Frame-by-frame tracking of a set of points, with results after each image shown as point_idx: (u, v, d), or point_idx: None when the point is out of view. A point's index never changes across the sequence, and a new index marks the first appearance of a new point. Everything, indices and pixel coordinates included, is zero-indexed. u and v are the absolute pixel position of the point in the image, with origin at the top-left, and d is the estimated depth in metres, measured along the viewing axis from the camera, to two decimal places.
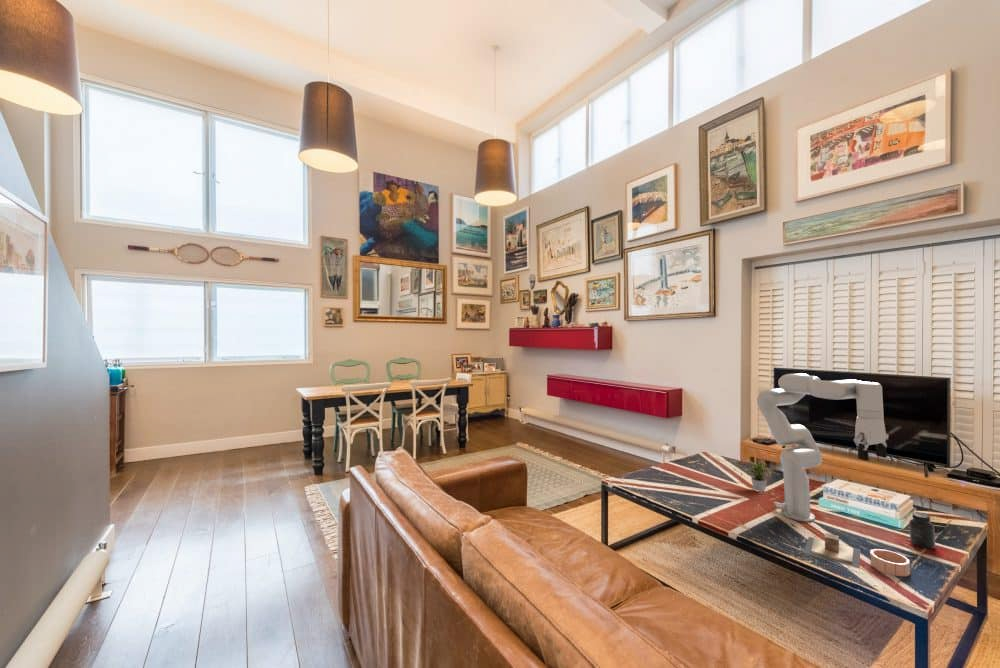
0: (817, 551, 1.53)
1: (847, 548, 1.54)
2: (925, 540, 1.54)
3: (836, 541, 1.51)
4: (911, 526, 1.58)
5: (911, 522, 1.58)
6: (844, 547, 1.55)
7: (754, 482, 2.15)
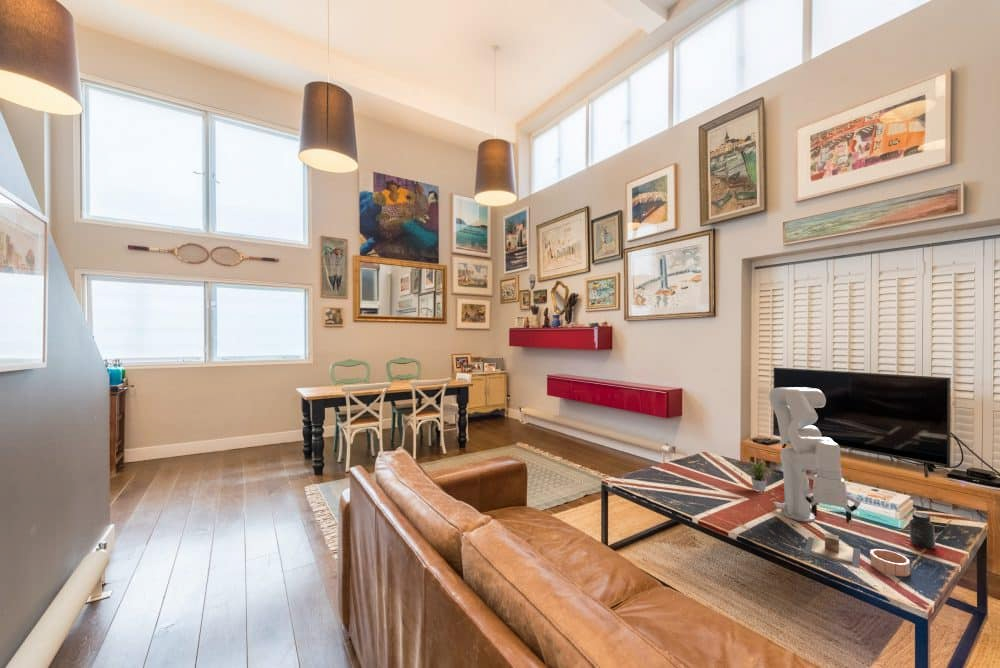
0: (817, 551, 1.53)
1: (847, 548, 1.54)
2: (925, 540, 1.54)
3: (836, 541, 1.51)
4: (911, 526, 1.58)
5: (911, 522, 1.58)
6: (844, 547, 1.55)
7: (754, 482, 2.15)
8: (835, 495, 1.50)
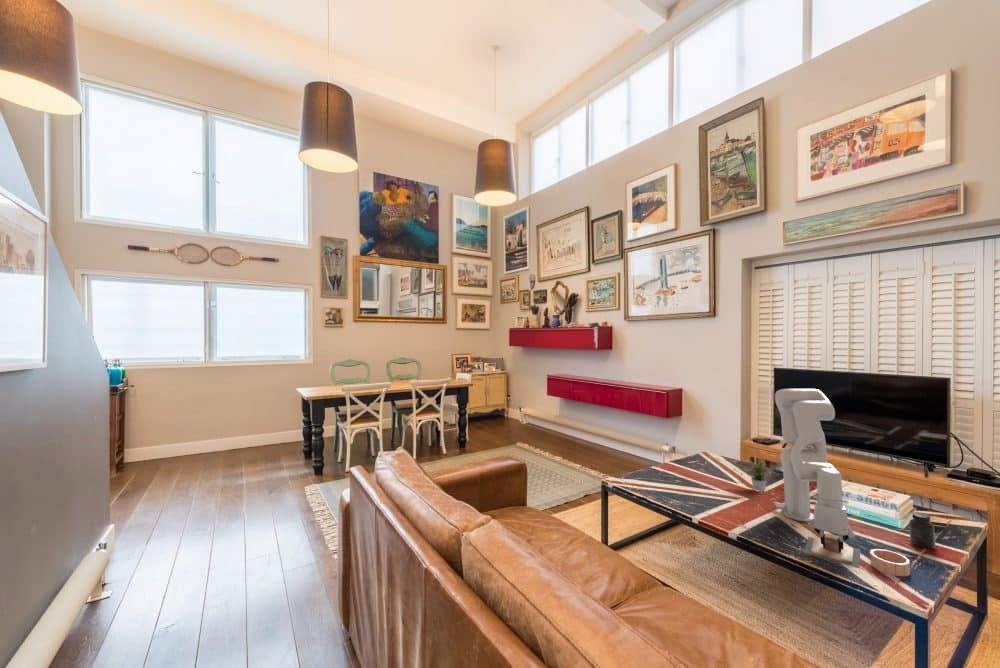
0: (817, 551, 1.53)
1: (847, 548, 1.54)
2: (925, 540, 1.54)
3: (836, 541, 1.51)
4: (911, 526, 1.58)
5: (911, 522, 1.58)
6: (844, 547, 1.55)
7: (754, 482, 2.15)
8: (836, 523, 1.51)
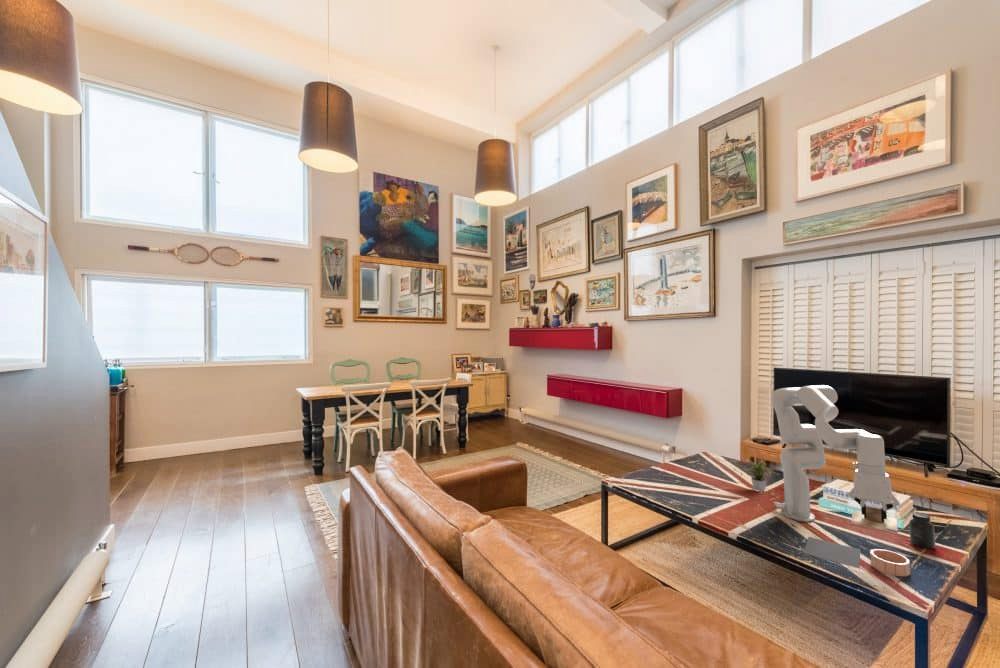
0: (858, 521, 1.44)
1: (891, 519, 1.44)
2: (925, 540, 1.54)
3: (879, 510, 1.42)
4: (911, 526, 1.58)
5: (911, 522, 1.58)
6: (887, 518, 1.45)
7: (754, 482, 2.15)
8: (879, 491, 1.42)
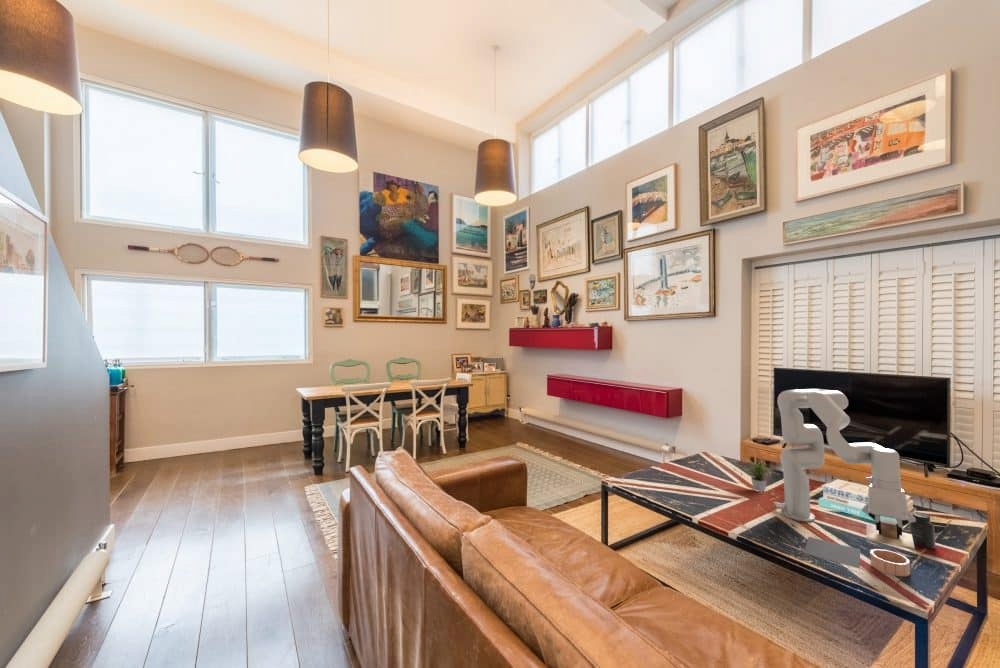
0: (873, 537, 1.41)
1: (906, 535, 1.42)
2: (925, 540, 1.54)
3: (894, 526, 1.40)
4: (911, 526, 1.58)
5: None
6: (902, 533, 1.43)
7: (754, 482, 2.15)
8: (894, 507, 1.39)
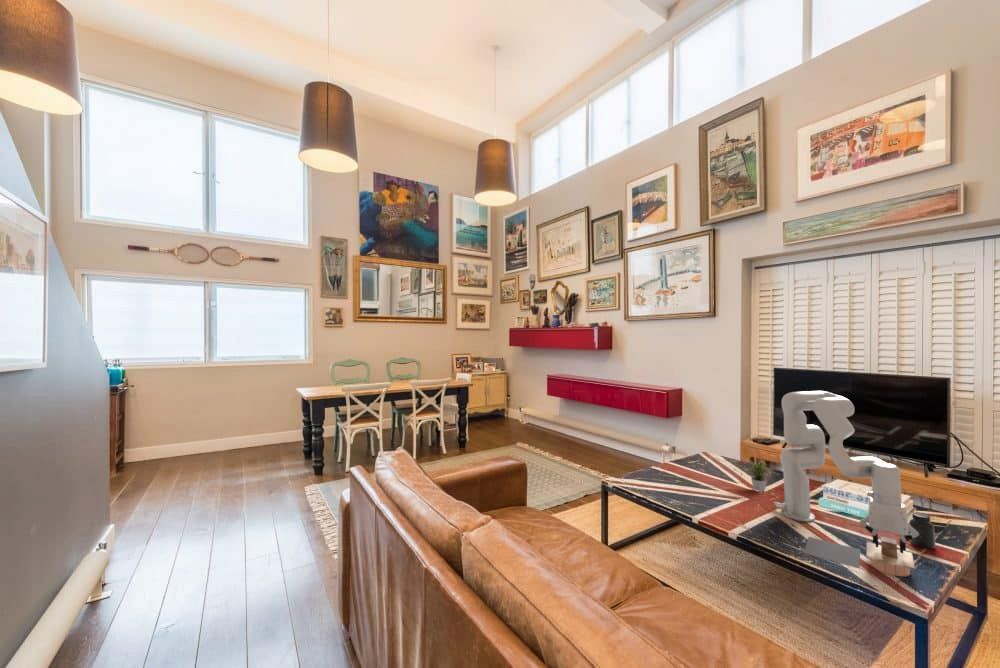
0: (873, 556, 1.41)
1: (906, 553, 1.42)
2: (925, 540, 1.54)
3: (894, 545, 1.40)
4: (911, 526, 1.58)
5: (911, 522, 1.58)
6: None
7: (754, 482, 2.15)
8: (895, 522, 1.39)
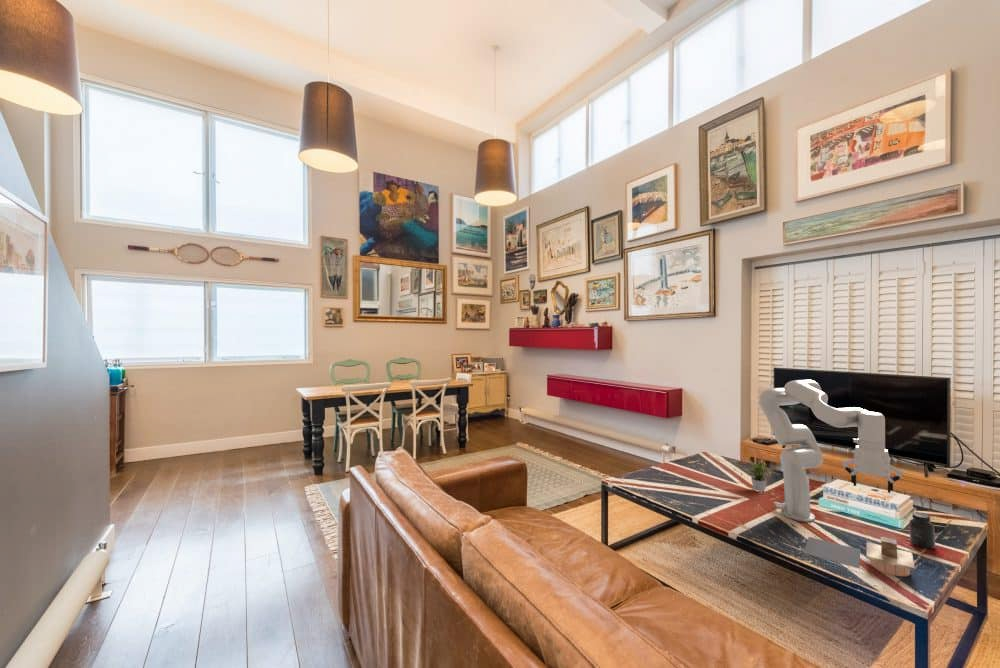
0: (873, 556, 1.41)
1: (906, 553, 1.42)
2: (925, 540, 1.54)
3: (894, 545, 1.40)
4: (911, 526, 1.58)
5: (911, 522, 1.58)
6: (902, 552, 1.43)
7: (754, 482, 2.15)
8: (877, 465, 1.49)
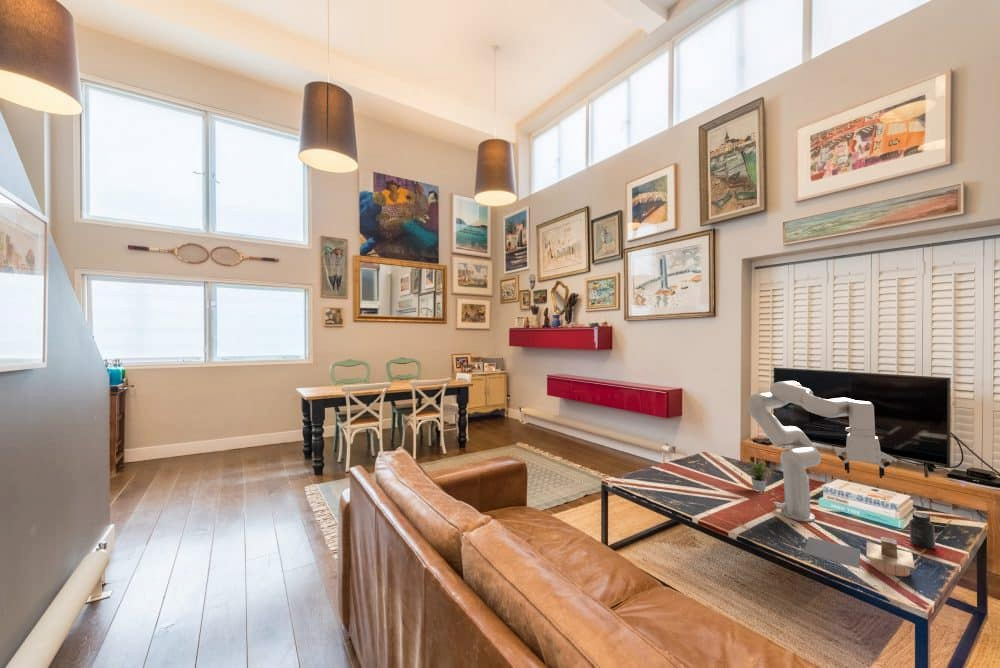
0: (873, 556, 1.41)
1: (906, 553, 1.42)
2: (925, 540, 1.54)
3: (894, 545, 1.40)
4: (911, 526, 1.58)
5: (911, 522, 1.58)
6: (902, 552, 1.43)
7: (754, 482, 2.15)
8: (869, 452, 1.56)
